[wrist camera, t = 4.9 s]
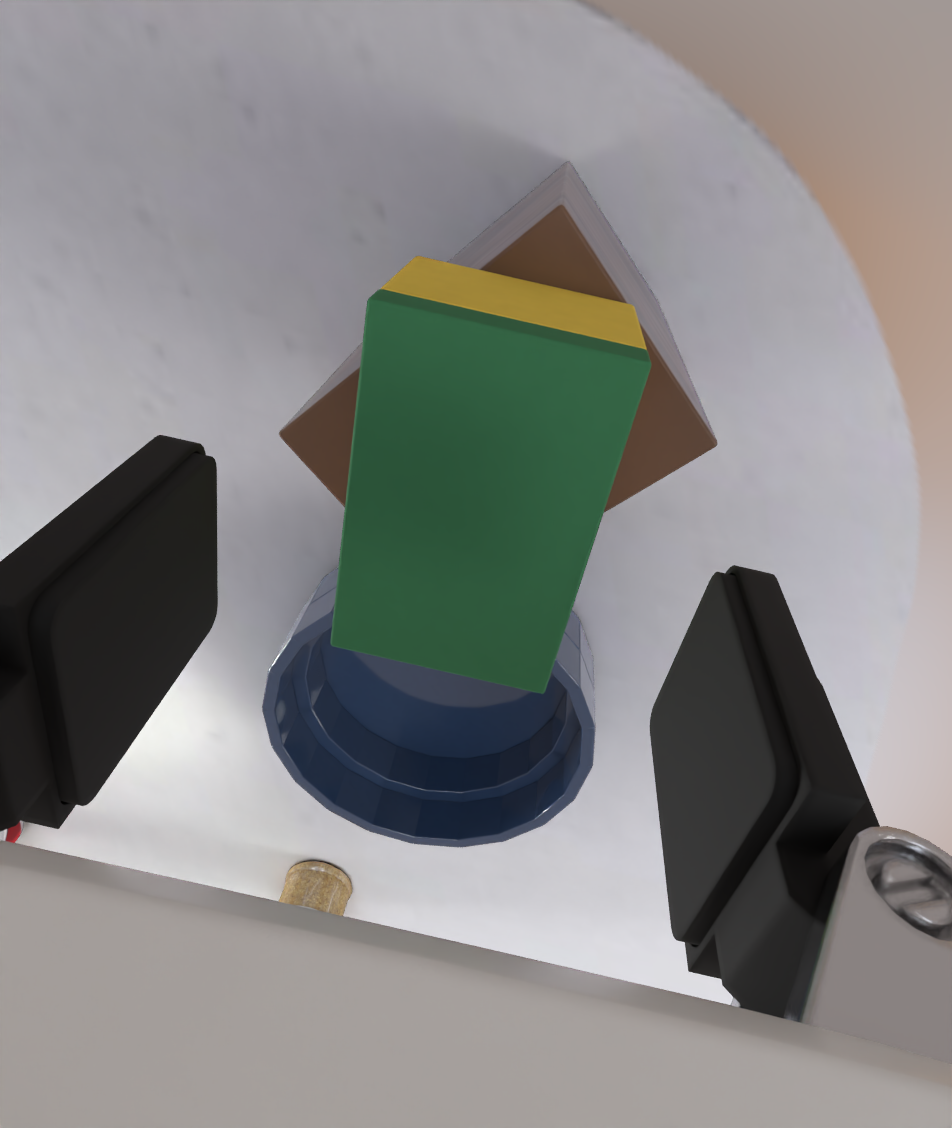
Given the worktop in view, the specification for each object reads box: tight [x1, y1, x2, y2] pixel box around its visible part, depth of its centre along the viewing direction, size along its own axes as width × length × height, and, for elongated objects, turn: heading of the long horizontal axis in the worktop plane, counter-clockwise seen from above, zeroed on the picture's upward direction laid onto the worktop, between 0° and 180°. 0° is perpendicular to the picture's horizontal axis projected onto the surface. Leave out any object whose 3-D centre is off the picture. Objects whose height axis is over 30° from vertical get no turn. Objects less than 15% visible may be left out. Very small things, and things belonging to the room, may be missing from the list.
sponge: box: [330, 256, 651, 694], centre depth 15 cm, size 7×4×4 cm, turn 170°
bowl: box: [262, 568, 595, 847], centre depth 36 cm, size 15×15×6 cm
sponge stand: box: [279, 161, 717, 512], centre depth 22 cm, size 8×6×14 cm
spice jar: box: [279, 861, 352, 916], centre depth 44 cm, size 5×5×14 cm
